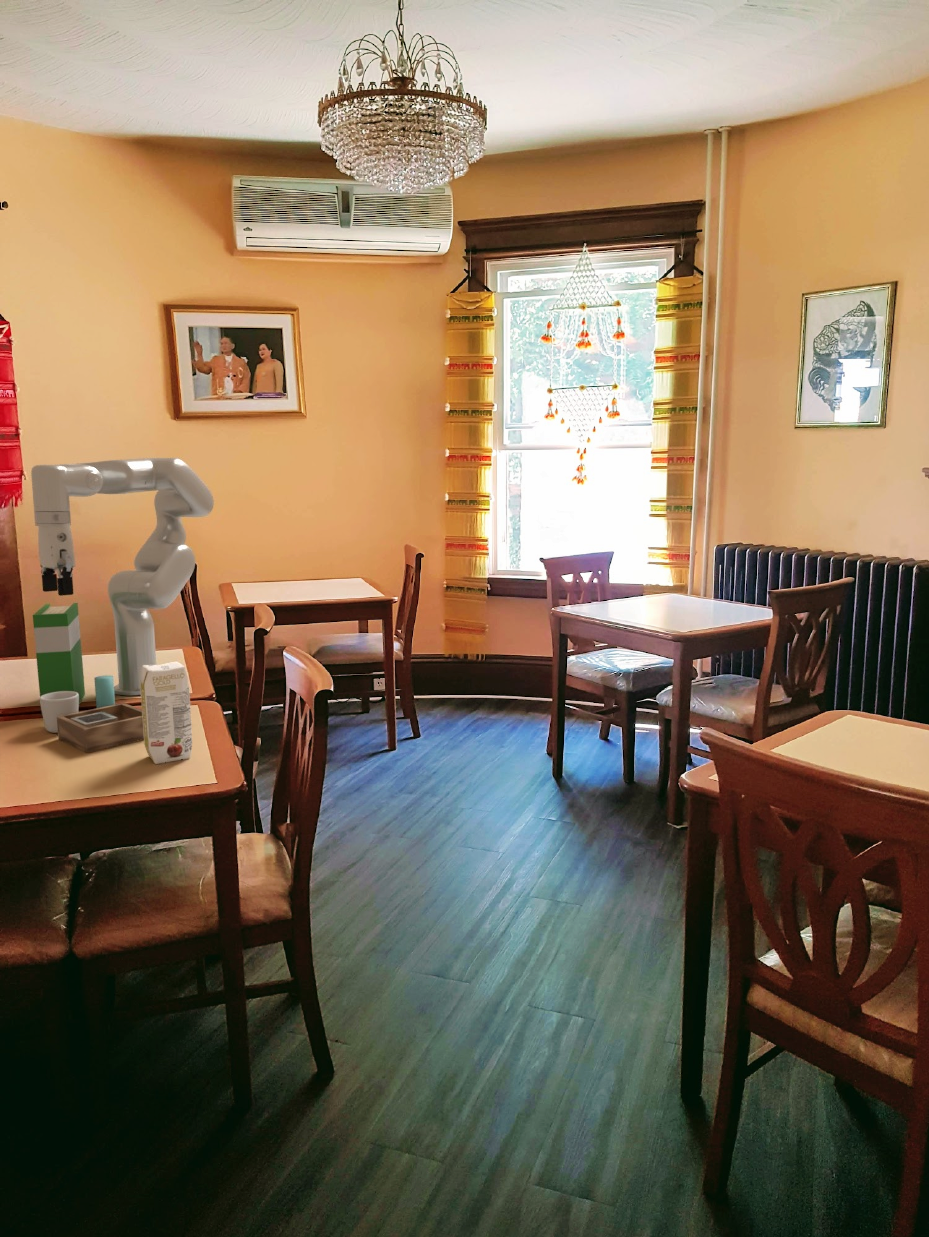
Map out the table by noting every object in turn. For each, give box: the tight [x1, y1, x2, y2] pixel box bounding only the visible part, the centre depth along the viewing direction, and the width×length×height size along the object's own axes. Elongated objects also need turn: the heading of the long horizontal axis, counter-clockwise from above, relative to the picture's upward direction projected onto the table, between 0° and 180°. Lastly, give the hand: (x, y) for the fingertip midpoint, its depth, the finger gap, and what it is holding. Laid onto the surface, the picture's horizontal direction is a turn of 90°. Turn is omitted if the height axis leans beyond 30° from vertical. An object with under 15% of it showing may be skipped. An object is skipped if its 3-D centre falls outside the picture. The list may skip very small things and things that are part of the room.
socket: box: [71, 712, 118, 727], centre depth 186 cm, size 7×7×4 cm
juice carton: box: [140, 661, 193, 765], centre depth 174 cm, size 8×9×19 cm
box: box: [57, 702, 144, 754], centre depth 188 cm, size 15×14×5 cm
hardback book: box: [32, 602, 86, 716], centre depth 213 cm, size 18×7×24 cm, turn 16°
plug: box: [93, 674, 116, 708], centre depth 201 cm, size 4×4×10 cm
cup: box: [38, 691, 80, 734], centre depth 194 cm, size 11×8×8 cm
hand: (58, 593), depth 202 cm, fingers open, 9 cm apart
